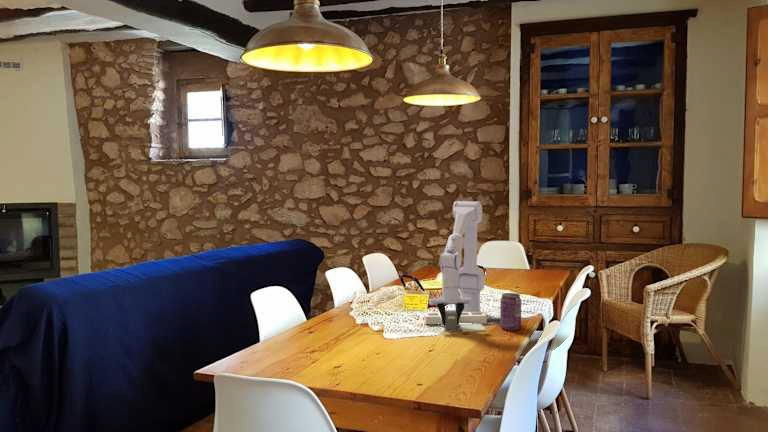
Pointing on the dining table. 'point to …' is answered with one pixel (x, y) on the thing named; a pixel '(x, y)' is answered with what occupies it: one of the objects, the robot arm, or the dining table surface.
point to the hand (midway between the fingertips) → (450, 324)
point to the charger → (450, 320)
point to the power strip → (464, 318)
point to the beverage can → (510, 311)
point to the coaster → (471, 327)
